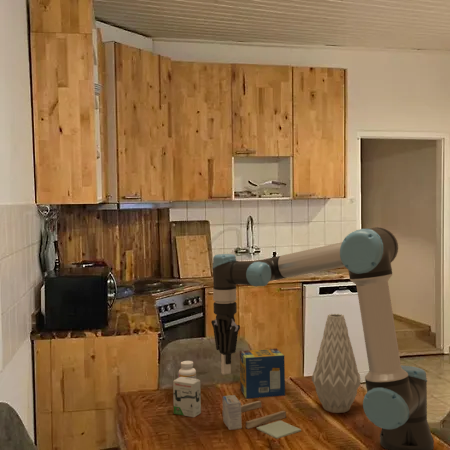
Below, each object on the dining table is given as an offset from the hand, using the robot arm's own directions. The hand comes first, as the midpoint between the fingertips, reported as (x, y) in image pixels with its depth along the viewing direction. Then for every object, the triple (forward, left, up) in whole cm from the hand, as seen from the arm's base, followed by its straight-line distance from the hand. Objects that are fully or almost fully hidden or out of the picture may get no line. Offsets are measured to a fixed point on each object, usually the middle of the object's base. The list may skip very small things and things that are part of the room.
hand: (226, 373), depth 191 cm
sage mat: (-14, -10, -17) cm, 24 cm away
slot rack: (0, -11, -17) cm, 20 cm away
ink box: (+17, +5, -17) cm, 24 cm away
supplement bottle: (+33, -5, -17) cm, 37 cm away
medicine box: (-2, -1, -17) cm, 17 cm away
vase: (-12, -38, -17) cm, 43 cm away
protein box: (+18, -29, -17) cm, 38 cm away
